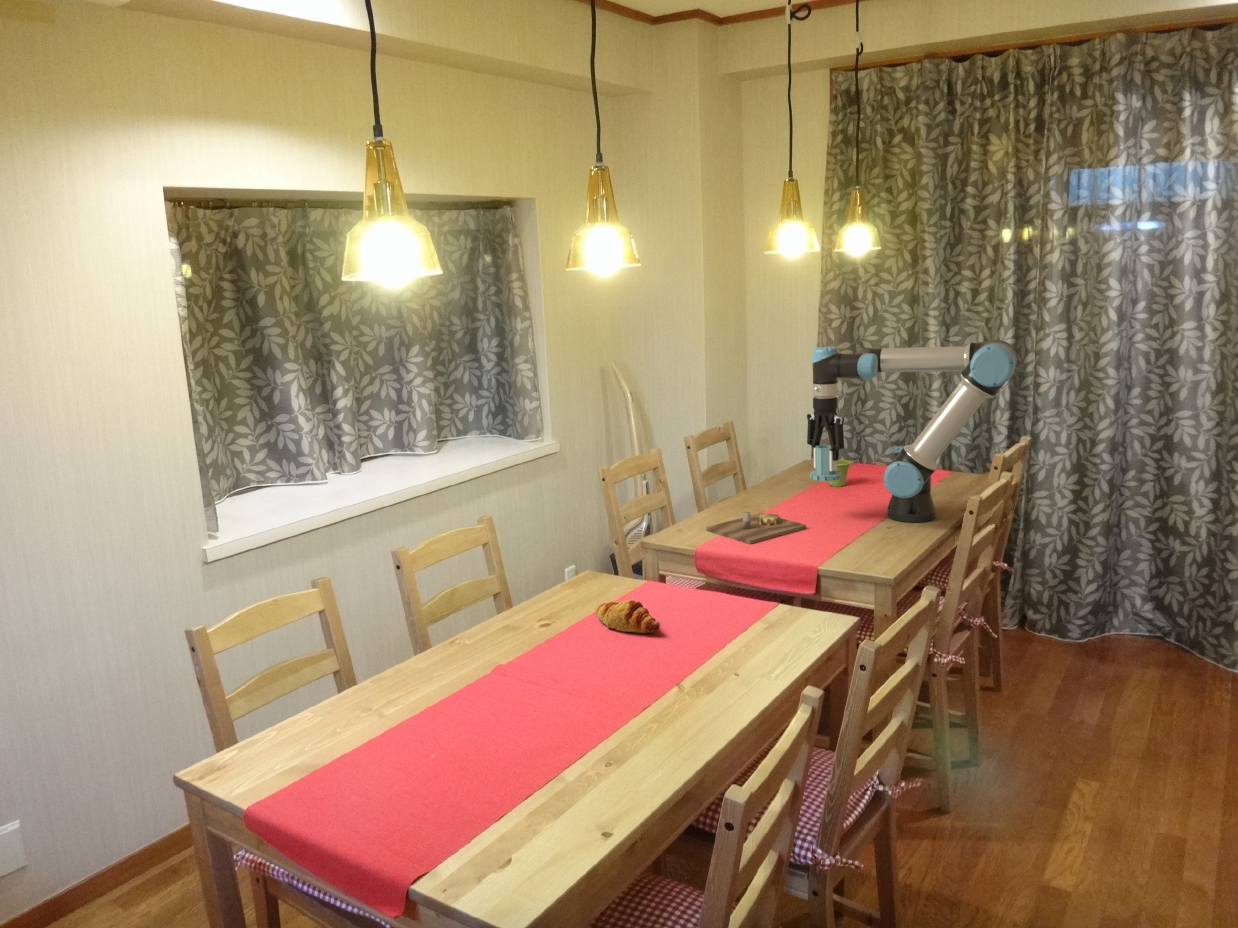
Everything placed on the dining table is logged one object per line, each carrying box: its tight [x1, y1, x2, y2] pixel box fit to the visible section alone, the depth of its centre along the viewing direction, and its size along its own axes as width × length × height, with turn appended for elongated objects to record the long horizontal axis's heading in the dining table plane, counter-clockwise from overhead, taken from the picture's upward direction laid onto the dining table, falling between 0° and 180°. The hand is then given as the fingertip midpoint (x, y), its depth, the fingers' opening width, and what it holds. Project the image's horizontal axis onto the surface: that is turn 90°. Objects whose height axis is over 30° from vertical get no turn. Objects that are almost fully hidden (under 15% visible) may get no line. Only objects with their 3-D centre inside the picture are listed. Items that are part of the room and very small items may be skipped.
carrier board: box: [705, 511, 807, 545], centre depth 310 cm, size 20×24×6 cm
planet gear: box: [809, 444, 841, 482], centre depth 311 cm, size 10×10×10 cm
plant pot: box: [827, 459, 852, 488], centre depth 361 cm, size 9×9×9 cm
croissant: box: [595, 599, 661, 634], centre depth 236 cm, size 21×10×8 cm, turn 45°
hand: (825, 468), depth 312 cm, fingers closed on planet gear, 6 cm apart
